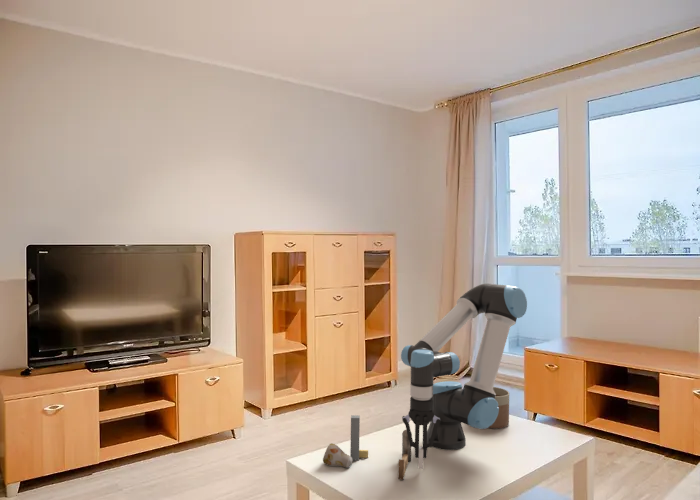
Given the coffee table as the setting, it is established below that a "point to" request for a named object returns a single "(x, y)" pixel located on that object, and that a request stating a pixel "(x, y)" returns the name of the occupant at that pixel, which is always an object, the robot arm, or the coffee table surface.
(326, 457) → the white floral pitcher
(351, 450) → the post
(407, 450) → the hinge post
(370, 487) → the coffee table surface
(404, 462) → the gate
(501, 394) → the planter
